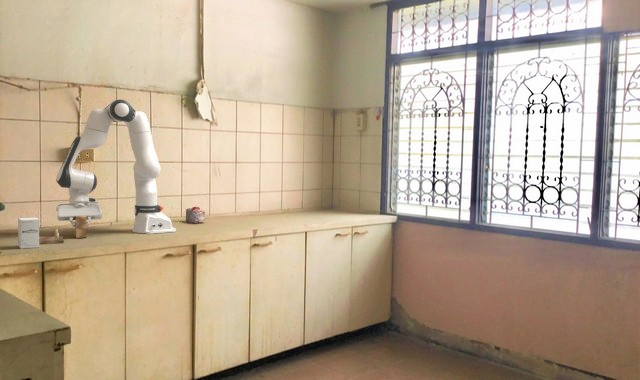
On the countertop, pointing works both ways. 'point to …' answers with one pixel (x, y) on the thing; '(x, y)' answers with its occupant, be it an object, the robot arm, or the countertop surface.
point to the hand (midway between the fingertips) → (80, 225)
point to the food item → (195, 215)
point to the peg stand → (51, 238)
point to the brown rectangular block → (80, 227)
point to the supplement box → (28, 233)
